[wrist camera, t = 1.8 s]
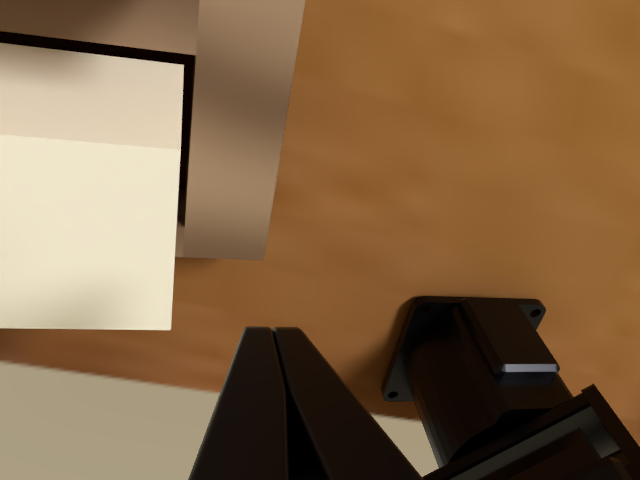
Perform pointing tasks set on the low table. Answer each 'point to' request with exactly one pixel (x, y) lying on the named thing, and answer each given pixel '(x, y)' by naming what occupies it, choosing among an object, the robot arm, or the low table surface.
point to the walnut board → (204, 99)
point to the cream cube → (87, 189)
